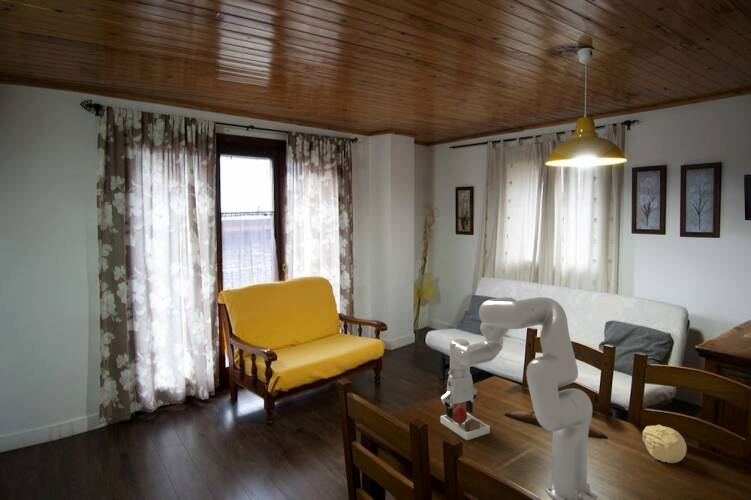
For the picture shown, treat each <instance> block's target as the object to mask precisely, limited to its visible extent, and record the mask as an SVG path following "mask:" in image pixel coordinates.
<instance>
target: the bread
mask: <svg viewBox="0 0 751 500" xmlns="http://www.w3.org/2000/svg"><path fill="white" fill-rule="evenodd" d="M504 416H506V417H509V418H511V419H515V420H519V421H522V422H525V423H526V422H527V423H531V424H535V425H539V426H541V425H540V423H539V422H538V420H537V418H536V416H535V412H534V411H532V410H531V411H527V410H526V411H525V410H515V411H509V412H508V413H507V412H505V413H504ZM589 436H590V437H595V438H600V439H601V438H602V439H608V438H609V437H608V436H607V435H606V434H604V433H602V432H601V431H599V430H598V429H597V428H595V427H593V426H592V425H590V426H589V432H588V437H589Z"/></svg>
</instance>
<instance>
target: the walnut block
mask: <svg viewBox="0 0 751 500" xmlns="http://www.w3.org/2000/svg"><path fill="white" fill-rule="evenodd" d="M479 428H480V422H478V421H476V420H473V419H470V420H468V421H465V431H466V432H469V431H472V430H476V429H479Z"/></svg>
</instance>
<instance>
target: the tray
mask: <svg viewBox="0 0 751 500" xmlns="http://www.w3.org/2000/svg"><path fill="white" fill-rule="evenodd" d="M439 418H440V423H441V424H442V425H443V426H445V427H447V428H448V429H450V430H451V431H453V432H454V433H456V434H457V435H458V436H460V437H461V438H463V439H464V440H466V441H469V440H472V439H474V438H478V437H481V436H484V435H488V434H491V426H490V425H489V424H487V423H485V422H483V421H482V420H481V419H478V418H476V417H475V416H473V415H472V414H471V413H469V412H467V419H466V421H468V420H470V419H473V420H476V421H478V422H480V428H479V429H476V430H472V431H469V432H466V431H465V422H464V423H462V424H458V423H456V422H455V421H454V420H453V418H452V419H451V418H449V417H448V416H447V415H446V414H444V415H440V417H439Z"/></svg>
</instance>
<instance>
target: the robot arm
mask: <svg viewBox="0 0 751 500" xmlns="http://www.w3.org/2000/svg"><path fill="white" fill-rule="evenodd" d="M566 314H567V313H566V311H565V310H564V308H563V307H562V305H561V304H560V303H559V302H558V301H556V300H555V299H553V298H551V297H546V296H544V297H543V296H540V297H539V296H537V297H532V298H531V297H530V298H526V299H519V300H517V299H515V298H512V297H508V296H504V297H497V298H491V299H488V300H485V301H484V302H483V303H481V305H480V307H479V309H478V316H479V317H478V318H479V319H480V320H481V323H480V326H479V329H480V333H481V335H482V336H483V337H485V339H484V340H483V341H481V342H478V343H477V342H476V343H472V344H471V343H470V342H469V341H468V340H466V339H463V338H455V339H452V340H451V341H450V342H449V370H448V371H447V374H448V378H447V385H446V393H445V394H443V395H442V396H441V397H440V401H441V403H442V404H443V405H444V406H445V410H446V414H445V415H447V416H448V417H449V418H451V419H452V418H453V410H454V408H453V407H454V405H459V404H462V403H465V411H466V412H468V413H469V414H472V413H473V411H474V410H473V407H474V406H473V405H474V404H473V403H475V399H476V398H477V394H478V391H479V390H478V389H477V388H476V387H474V382H473V378H472V374H471V372H470V371H471V369H470V367H474V366H479V365H481V364H486V363H490V362H492V361H493V360H494V359H495V358H496V357H497V356H498V355H499V354H500V352H501V351H502V349H503V346H504V337H505V336H506V334H507V332H508V331H510V329H511V330H520V329H525V328H526V329H527V328H531V327H534V326H541V327H542V328H541V329H540V335H539V336H540V337H539V339H540V345H541V346H540V347H541V351H542V356H538V357H535V358H534V359H532V360H531V361H529V363H528V365H527V368H526V375H525V376H526V381H527V386H528V391H529V395H530V399H531V404H532V407H533V412H535V416H536V418H537V420H538V422H539V423H540V425H539V426H541V427H542V428H543V429H545V430H546V431H549V432H552V443H551V445H552V447H551V448H552V449H551V450H552V451H551V452H552V453H551V456H552V457H551V478H550V479H549V480H547V482H546V484H545V489H546V492H547V494H548V495H549V496H550V497H551V499H553V500H598V495H597V494H595V493H594V492H592V491H591V489H590V488H591V484H590V483H589V482H587V481H588V480H587V478H588V475H587V474H588V451H589V450H588V448H589V447H588V446H589V435H588V432H589V426H591V420H592V416H593V404H592V401H591V399H590V397H589V396H588V394H587V393H586V392H585V391H583V390H581V389H578V388H575V387H574V388H567V389H563V390H559V389H558V388H562V387H565V386H567V385H570V384H573V383H574V382H576V380H577V379H578V376H579V369H578V365H577V360H576V357H575V352H574V348H573V344H572V340H571V337H570V331H569V330H570V329H569V325H568V318H567V315H566Z"/></svg>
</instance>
